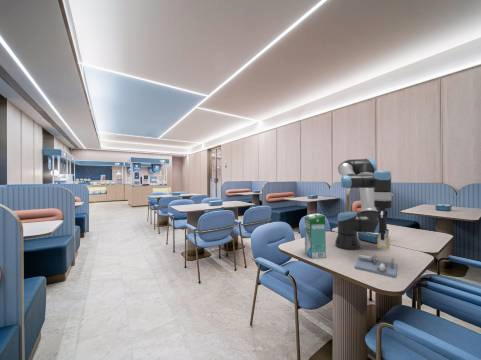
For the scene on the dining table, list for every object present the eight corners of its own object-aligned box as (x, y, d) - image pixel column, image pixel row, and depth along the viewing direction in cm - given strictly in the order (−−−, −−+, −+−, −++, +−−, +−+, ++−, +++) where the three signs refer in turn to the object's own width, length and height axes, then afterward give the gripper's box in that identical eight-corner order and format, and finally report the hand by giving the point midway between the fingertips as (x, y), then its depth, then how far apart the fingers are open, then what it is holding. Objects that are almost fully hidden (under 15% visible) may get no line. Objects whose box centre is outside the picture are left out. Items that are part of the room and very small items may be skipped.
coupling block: (389, 249, 104) (389, 238, 104) (377, 247, 107) (377, 236, 107) (390, 246, 107) (389, 236, 108) (378, 245, 111) (378, 234, 111)
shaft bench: (354, 268, 106) (354, 259, 106) (360, 258, 118) (360, 251, 118) (395, 278, 95) (395, 268, 95) (397, 266, 108) (397, 257, 108)
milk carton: (305, 253, 129) (304, 213, 129) (318, 252, 130) (318, 213, 130) (311, 258, 120) (310, 216, 120) (325, 257, 121) (325, 215, 121)
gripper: (390, 202, 98) (391, 250, 98) (392, 198, 112) (393, 241, 112) (371, 201, 102) (372, 247, 103) (376, 198, 117) (376, 239, 117)
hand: (383, 244), depth 107 cm, fingers closed on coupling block, 5 cm apart
